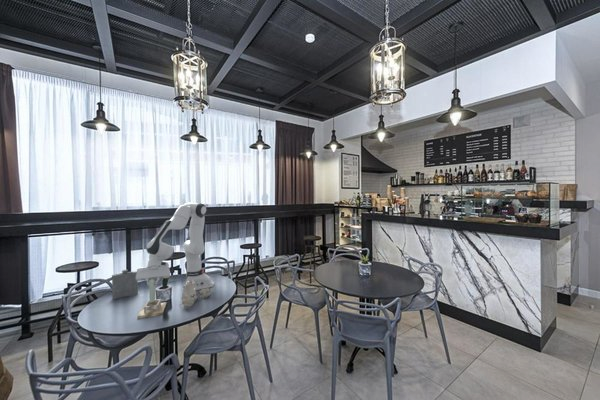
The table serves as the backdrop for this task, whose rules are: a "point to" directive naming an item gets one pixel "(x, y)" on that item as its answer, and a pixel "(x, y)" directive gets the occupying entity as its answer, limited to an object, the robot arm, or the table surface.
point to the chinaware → (192, 294)
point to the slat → (151, 290)
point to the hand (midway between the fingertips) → (152, 284)
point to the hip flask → (124, 284)
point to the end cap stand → (152, 309)
